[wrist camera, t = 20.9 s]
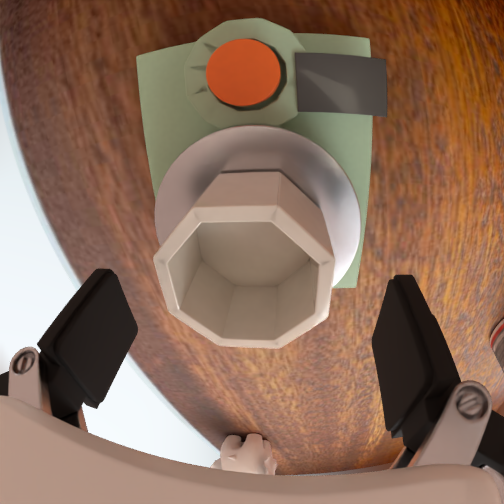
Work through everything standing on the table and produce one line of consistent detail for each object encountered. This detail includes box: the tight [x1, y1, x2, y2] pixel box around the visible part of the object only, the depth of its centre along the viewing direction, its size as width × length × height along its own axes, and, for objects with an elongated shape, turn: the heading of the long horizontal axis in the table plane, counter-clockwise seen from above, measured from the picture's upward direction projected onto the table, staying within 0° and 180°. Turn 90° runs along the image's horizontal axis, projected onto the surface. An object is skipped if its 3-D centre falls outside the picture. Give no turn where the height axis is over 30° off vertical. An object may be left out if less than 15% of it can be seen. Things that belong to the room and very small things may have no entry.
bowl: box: [153, 172, 335, 349], centre depth 13 cm, size 7×7×4 cm
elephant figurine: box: [210, 433, 278, 475], centre depth 34 cm, size 10×12×9 cm
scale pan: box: [155, 53, 387, 288], centre depth 14 cm, size 14×12×1 cm
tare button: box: [206, 39, 281, 106], centre depth 11 cm, size 3×3×2 cm
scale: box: [136, 18, 372, 288], centre depth 15 cm, size 17×13×3 cm
